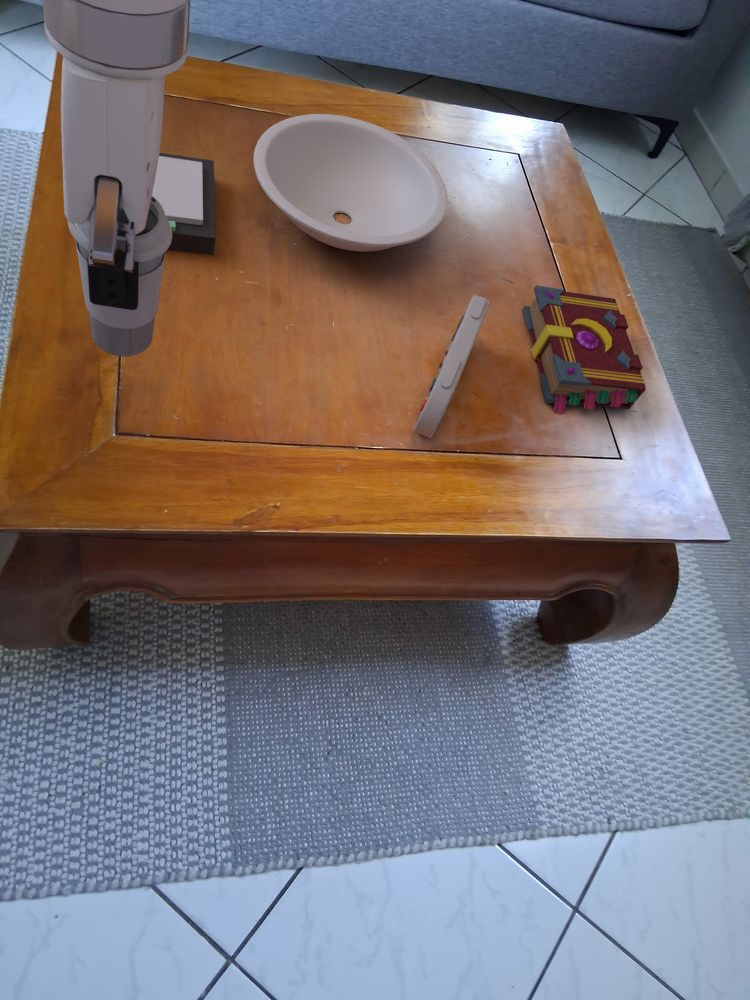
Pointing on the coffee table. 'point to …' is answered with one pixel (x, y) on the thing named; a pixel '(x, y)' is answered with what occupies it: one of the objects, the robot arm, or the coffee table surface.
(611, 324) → the decorative book
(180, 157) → the scale
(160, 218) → the cup
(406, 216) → the white sink basin
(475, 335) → the game controller
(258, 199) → the coffee table surface
